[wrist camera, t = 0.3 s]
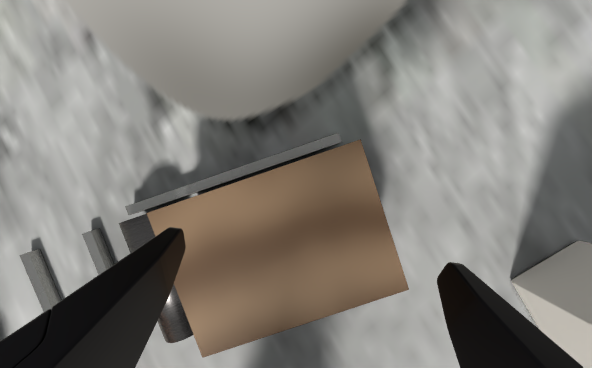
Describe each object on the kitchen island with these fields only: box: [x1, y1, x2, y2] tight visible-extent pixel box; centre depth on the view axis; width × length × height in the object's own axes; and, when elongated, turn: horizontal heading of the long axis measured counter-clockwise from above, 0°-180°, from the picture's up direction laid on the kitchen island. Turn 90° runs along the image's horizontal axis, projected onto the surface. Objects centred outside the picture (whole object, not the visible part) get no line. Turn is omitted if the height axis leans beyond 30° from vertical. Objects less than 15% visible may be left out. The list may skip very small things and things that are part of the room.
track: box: [20, 133, 342, 343], centre depth 22 cm, size 12×29×4 cm, turn 109°
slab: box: [147, 139, 409, 357], centre depth 18 cm, size 10×14×2 cm
